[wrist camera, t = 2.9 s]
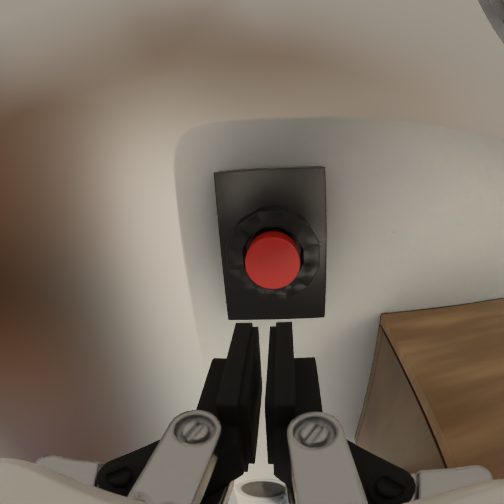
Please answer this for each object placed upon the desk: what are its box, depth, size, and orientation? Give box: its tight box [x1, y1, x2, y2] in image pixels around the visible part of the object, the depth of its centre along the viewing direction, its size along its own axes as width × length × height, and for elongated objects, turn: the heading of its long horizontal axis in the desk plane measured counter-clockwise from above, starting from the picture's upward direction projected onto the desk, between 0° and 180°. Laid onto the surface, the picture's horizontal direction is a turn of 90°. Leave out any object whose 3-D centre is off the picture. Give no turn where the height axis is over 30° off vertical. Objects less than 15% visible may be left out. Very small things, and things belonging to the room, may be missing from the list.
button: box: [245, 231, 300, 289], centre depth 20 cm, size 4×4×2 cm
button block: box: [214, 166, 326, 320], centre depth 23 cm, size 12×8×4 cm, turn 4°
